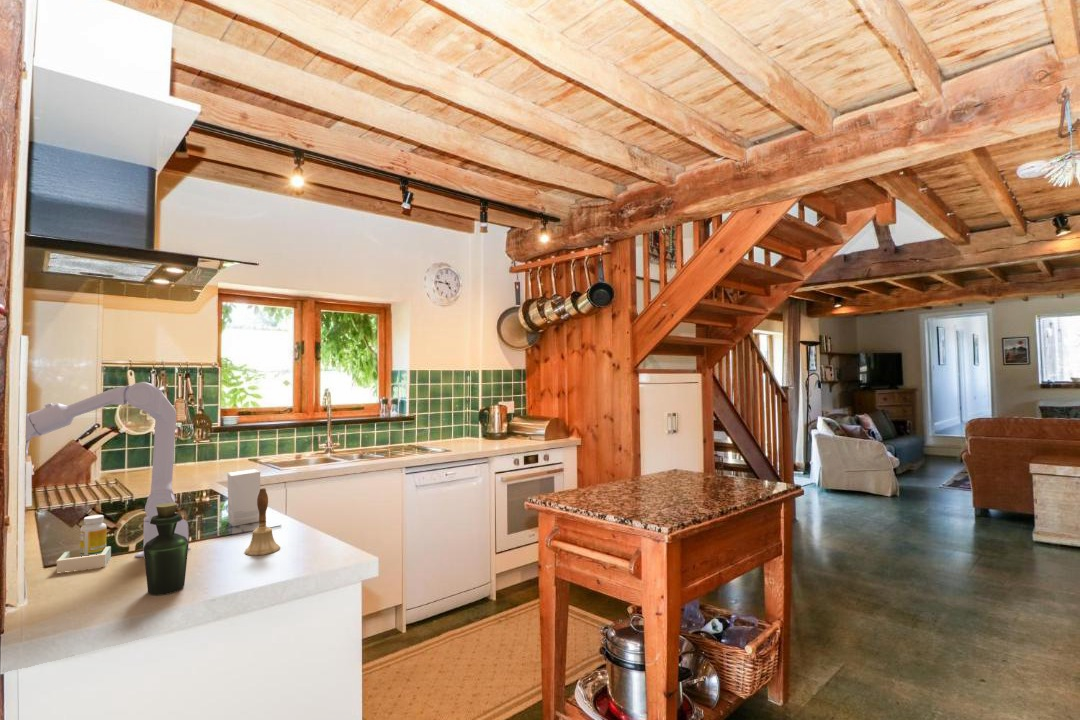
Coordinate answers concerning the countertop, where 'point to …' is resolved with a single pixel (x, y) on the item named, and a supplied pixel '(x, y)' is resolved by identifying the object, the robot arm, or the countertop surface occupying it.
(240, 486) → the skincare box
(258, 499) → the hand bell
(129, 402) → the robot arm
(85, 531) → the supplement bottle
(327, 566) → the countertop surface
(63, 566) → the tray
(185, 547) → the potion bottle
